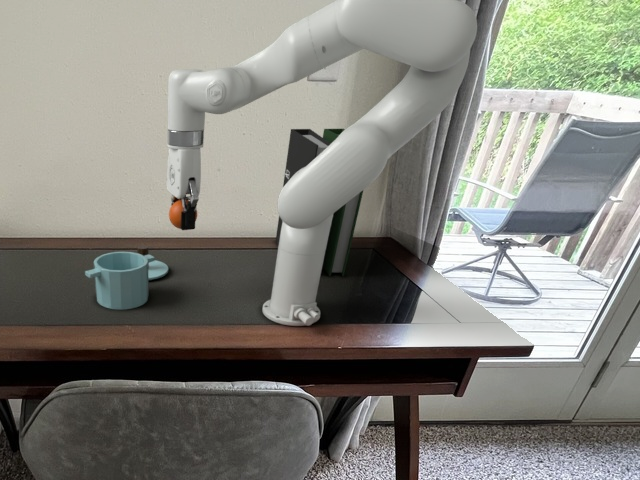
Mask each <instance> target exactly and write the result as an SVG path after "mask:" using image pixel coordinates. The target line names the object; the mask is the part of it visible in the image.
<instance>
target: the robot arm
mask: <svg viewBox="0 0 640 480" xmlns="http://www.w3.org/2000/svg"><path fill="white" fill-rule="evenodd" d="M477 34H478V19H477V16H476V13H475V11H473V9H472V8H471V7H470V6H469V5H468V4H467V3H465V2H463V1H460V0H334V1H332V2H331V3H329V4H327V5H325V6H323V7H322V8H320V9H318V10H317V11H314V12H313V13H311V14H309V15H307V16H305V17H303V18H301V19H300V20H298V21H296V22H295V23H293V24H290V26H288V27H287V28H286V29H285V30H283V31H282V33H280V35H279V36H278V37H277V39H276V40H274V42H272V43H271V44H270V45H268V46H267V47H265V48H264V49H262V50H260V51H259V52H257V53H256V54H254V55H252V56H251V57H248V58H246V59H244V60H243V61H241V62H239V63H238V64H236V65H233V66H230V67H221V68H216V69H215V68H214V69H211V70H202V69H197V68H184V69H183V68H182V69H174V70H172V71H171V72H170V74H169V75H168V83H167V84H168V85H167V145H166V146H167V148H168V154H167V164H166V183H165V184H166V186H165V187H166V190H167V191H168V192H169V194H171V198H170V200H171V201H170V202H171V205H170V207H171V206H172V205H173V204H174V203H175V202H176V201H178V200H181V197H182V207H183V212H181V229H180V230H181V231H189V230H195V229H196V221H195V219H196V209H197V205H198V202H199V199H200V198H199V196H200V193H201V192H200V191H201V179H202V175H201V174H202V162H201V161H202V157H201V156H202V155H201V149H202V148H204V143H205V142H204V140H205V124H206V123H205V121H206V113H208V114H211V115H212V114H213V115H225V114H228V113H230V112H233V111H236V110H238V109H241V108H243V107H245V106H247V105H249V104H251V103H253V102H255V101H256V100H259V99H261V98H263V97H265V96H267V95H269V94H271V93H273V92H275V91H277V90H280V89H282V88H283V87H285V86H287V85H290V84H294V83H297V82H299V81H301V80H303V79H305V78H308V77H309V76H311V75H313V74H315V73H317V72H319V71H321V70H323V69H325V68H327V67H329V66H331V65H333V64H336V63H337V62H339V61H341V60H343V59H346V58H349V56H352V55H354V54H357V53H358V52H361V51H362V50H366V51H369V52H372V53H374V54H377V55H379V56H382V57H385V58H388V59H391V60H394V61H397V62H400V63H401V64H402V63H403V64H405V65H408V66H410V67H409V69H408V71H407V73H406V74H405V75H404V77H403V78H402V80H401V81H400V82H398V84H397V85H395V86H394V87H393V88H392V89H391V90H390V91H389V92H388V93H387V94H386V95H384V97H383V98H382V99H381V100H380V101H378V102H377V103H376V104H375V105H373V107H372V108H371V109H369V110H368V111H367V112H366V113H365V114H364V115H363V116H361V117H360V118H359V119H358V120H357V121H356V122H354V123H353V124H351V125H349V126H348V127H347V128H344V129H345V130H344V131H343V132H342V133H341V134H340V135H339V136H338V137H337V138H336V139H335V140H334V141H333V142H332V143H331V144H330V145H329V146H328V147H327V148H326V149H325V150H324V151H323V152H322V153H320V154H319V155H318V156H317V157H316V158H315V159H314V160H313V161H312V162H310V163H309V164H308V165H307V166H306V167H304V168H302V169H300V170H299V171H297V172H296V173H295V174H294V175H293V176H292V177H291V179H290V180H289V181H288V182H287V183H286V184H285V186H284V187H283V186H282V189H280V192H279V195H278V198H277V206H276V207H277V212H278V213H277V214H278V217H279V216H280V218H281V219H282V221H283V222H282V228H281V234H280V240H279V246H278V245H277V254H276V261H275V267H274V275H273V282H272V289H271V295H270V299H268V300H266V301H264V302H263V304H262V309H261V310H262V314H263V315H264V316H265V318H267V319H268V320H270V321H272V322H273V323H277V324H279V325H284V326H288V327H289V326H291V327H305V326H309V327H310V326H311V325H312V324H314V323H316V322H318V321H319V320H320V318H321V310H320V308H319V307H318V306H317V304H318V303H317V302H316V299H317V295H318V289H319V285H320V279H321V276H322V275H321V274H322V270H323V266H322V265H323V260H324V255H325V250H326V246H327V241H328V236H329V232H330V227H331V223H332V218H333V214H334V212H336V211H337V210H338V209H340V208H341V207H342V206H343V205H345V204H346V203H347V202H348V201H350V200H351V199H352V198H354V197H355V196H356V195H357V194H359V193H360V192H361V191H362V190H363V191H364V190H365V189H366V188H368V187H369V186H370V185H371V184H372V183H373V182H374V181H376V179H377V178H378V177H379V176H380V175H381V174H382V172H383V171H384V169H385V167H386V166H387V163H388V160H390V158H391V157H392V156H394V154H395V153H396V152H397V151H399V150H400V149H401V148H403V147H404V146H405V145H406V144H407V143H409V142H410V141H411V140H412V139H414V137H415V136H417V135H418V134H419V133H420V132H421V131H422V130H424V128H426V127H428V126H429V124H430V123H432V121H434V120H435V119H436V118H437V117H438V116H439V115H440V114H441V113H442V112H443V111H444V110H445V109H446V108H447V106H448V105H449V104H450V103H451V101H452V100H453V98H455V96H456V94H457V92H458V91H459V88H460V87H461V85H462V83H463V80H464V78H465V75H466V74H467V69H468V66H469V62H470V57H471V56H470V55H471V49H472V46H473V44H474V42H475V40H476V38H477ZM185 195H189V196H186V197H185ZM186 200H189V201H188V203H187V205H186ZM196 220H197V219H196Z"/></svg>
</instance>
